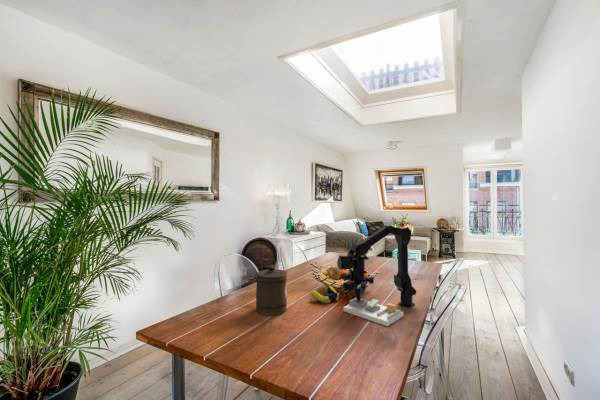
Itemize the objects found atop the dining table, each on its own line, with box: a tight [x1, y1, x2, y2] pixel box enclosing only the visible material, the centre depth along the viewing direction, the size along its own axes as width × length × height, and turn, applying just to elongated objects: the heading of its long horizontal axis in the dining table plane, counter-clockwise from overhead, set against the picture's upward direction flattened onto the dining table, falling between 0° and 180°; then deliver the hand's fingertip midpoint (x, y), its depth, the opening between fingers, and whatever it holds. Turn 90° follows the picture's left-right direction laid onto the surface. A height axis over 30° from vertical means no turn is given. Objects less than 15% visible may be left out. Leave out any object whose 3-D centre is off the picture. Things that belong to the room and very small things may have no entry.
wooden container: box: [255, 264, 288, 317], centre depth 139 cm, size 15×15×22 cm
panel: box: [343, 297, 404, 327], centre depth 135 cm, size 15×23×4 cm, turn 45°
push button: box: [354, 298, 364, 303], centre depth 141 cm, size 4×4×2 cm
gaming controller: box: [311, 285, 340, 304], centre depth 153 cm, size 15×6×10 cm
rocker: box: [367, 298, 380, 308], centre depth 135 cm, size 6×3×1 cm, turn 134°
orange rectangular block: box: [386, 302, 397, 313], centre depth 131 cm, size 2×4×3 cm, turn 45°
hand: (358, 300), depth 141 cm, fingers closed, pressing on push button
